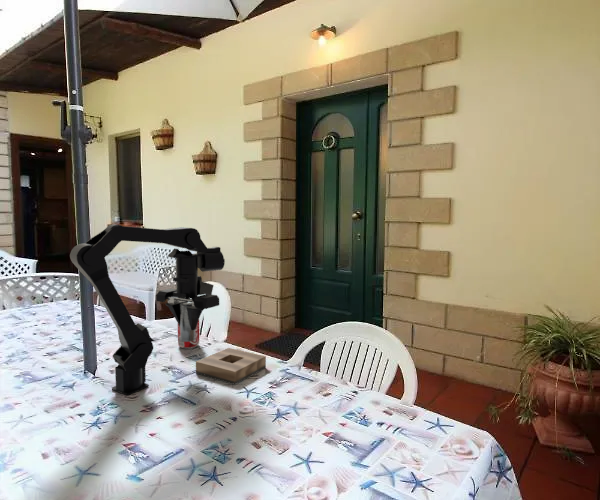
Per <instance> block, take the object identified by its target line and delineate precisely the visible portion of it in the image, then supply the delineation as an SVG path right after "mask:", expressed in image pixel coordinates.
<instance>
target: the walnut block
mask: <svg viewBox="0 0 600 500" xmlns="http://www.w3.org/2000/svg"><path fill="white" fill-rule="evenodd" d="M266 358H267V356H266V355H264V354H263V355H262V354H257V353H254V352H250V351H249V352H248V351H244V350H239V349H236V348H231V347H227V348H224V349H222V350H220V351H217V352H215V353H212V354H211V355H208V356H206V357H203V358H202V359H198V360H195V374H196V375H200V376H203V377H207V378H209V379H214V380H217V381H221V382H225V383H228V384H230V385H237V384H239V383H241V382H242V381H244V380H246V379H249V378H250V377H251V376H254V375H256V374H257V373H259V372H260V371H262V370H265V369H266V367H267V364H266V363H267V360H266Z"/></svg>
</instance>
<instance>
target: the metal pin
mask: <svg viewBox="0 0 600 500" xmlns="http://www.w3.org/2000/svg"><path fill="white" fill-rule="evenodd" d="M191 306H192V302H188V303H182V304H180V335H181V341H183V342H190V341H194V340H195V330H191V326H190V322H189V317H188V312H187V307H191Z"/></svg>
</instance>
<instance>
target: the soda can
mask: <svg viewBox="0 0 600 500" xmlns="http://www.w3.org/2000/svg"><path fill="white" fill-rule="evenodd" d="M177 343H178V346H179V348H182V349H185V350H188V349H189V350H190V349H191V350H192V349H195V348H196V347H197V346H199V344H200V319H199V320H198V323H197V326H196V329H195V340H194V341H190V342H183V341H181V335H180V326H179V324H178V323H177Z"/></svg>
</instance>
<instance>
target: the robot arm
mask: <svg viewBox="0 0 600 500" xmlns="http://www.w3.org/2000/svg"><path fill="white" fill-rule="evenodd" d="M123 241H124V242H136V243H137V242H139V243H152V244H153V243H154V244H164V245H168V246H172V247H175V248H173V249H172V251H170V252H169V253H168V255H167V257H169V258H172V259H175V276H174V277H172V281H173V282H176V286H175V288H168V289H162V290H158V292H157V293H156V302H160V303H165V302H166V301H167V303H165V306H167V307H168V309H169V310H170V313H172V315H173V317H174V319H175V321H176V322H177V325H178V324H179V326H180V304H182V303H192V306H191V307H187V312H188V317H189V322H190V326H191V330H195V329H196V326H197V323H198V320H199V321H200V317H201V315H202V312H203V311H204V310H207V309H210V308H214V307H218V306H220V297H219V296H218V295H217V294H213V290H214V284H211V283H208V282H205V281H203V279H202V276H200V275H199V274H198V272H199V271H198V270H200V272H203V273H205V272H214V271H221V270H223V269H224V266H225V262H226V261H225V258H224V254H223V252H222V251H221V246H212V247H207V246H206V244H205V243H204V241H203V240H202V239H201V233H200V232H199V230H198V229H196V228H193V227H184V226H183V227H182V226H181V227H180V226H179V227H171V228H163V229H160V228H149V227H138V226H137V227H135V226H125V225H121V224H113V223H112V224H110V225H108V226H107V227H105V228H104V229H103V230H102V231H100V232H98V233H97V234H96V235H94V236H92V237H91V238H89V239H88V240H87V241H86V242H84V243H79V244H77V245H74V247H72V249H71V251H70V254H69V258H70V261H71V263H72V264H73V265H74V266H75V267H76V268H77V270H78V271H79V272H80V273H81V274H82V275H83V276H84V277H85V279H86V280H87V281H89V282H90V284H91V286H92V287H93V288H94V291H95V292H96V294H97V296H98V298H99V300H101V303H102V304H103V306H104V308H105V310H106V312H107V314H108V315H109V317H110V319H111V320H112V322H113V324H114V325H115V327H116V329H117V334H118V335H117V336H118V340H119V343H120V345H119V348H118V349H117V350H116V351H115V352H114V353H113V354H112V358H113V360H114V362H115V363H117V364H118V365H117V366H115V368H114V369H115V371H114V372H115V373H114V374H115V386H112V387H111V390H112V391H114V392H117V393H121V394H123V395H125V396H130V395H132V394H135V393H137V392H139V391H141V390H144V389H146V388H149V383H146V382H147V381H146V380H147V378H146V375H147V374H146V365H147V363H148V360H149V357H150V356H151V355H152V353H153V350H154V345H153V342H154V341H155V340H154V339H153V338H152V337H151V336H150V332H149V329H148V328H147V327H146V326H144V325H142V324H141V323H137V324H136V323H135V321H134V320H133V317H132V316H131V313H129V310H128V308H127V307H126V305H125V303H124V302H123V300H122V298H121V296H120V294H119V293H118V290H117V289H116V286H115V285H114V282H113V281H112V280H111V278H110V275H109V268H108V263H107V260H106V257H107V256H108V255H110V254H111V252H113V251H114V249H115V248H116V247H117V246H118V245H119V243H121V242H123ZM179 248H180V249H186V250H179ZM192 252H196V253H192Z"/></svg>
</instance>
